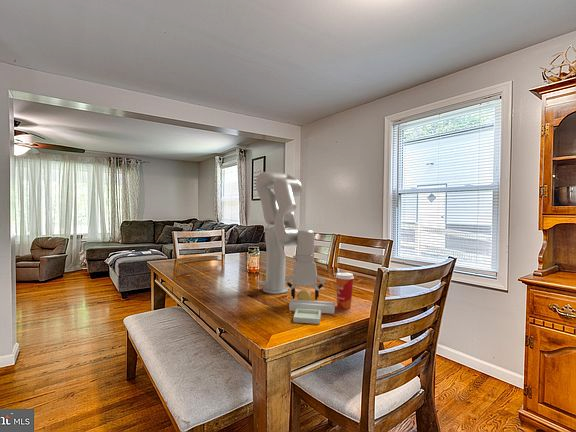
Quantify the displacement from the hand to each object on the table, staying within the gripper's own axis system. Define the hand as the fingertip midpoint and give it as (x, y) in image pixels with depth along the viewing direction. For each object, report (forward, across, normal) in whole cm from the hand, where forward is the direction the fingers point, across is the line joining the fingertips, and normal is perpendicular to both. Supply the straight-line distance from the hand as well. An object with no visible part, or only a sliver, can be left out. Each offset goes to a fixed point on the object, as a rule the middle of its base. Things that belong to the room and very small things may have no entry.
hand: (304, 298), depth 129 cm
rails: (+3, +4, -6) cm, 8 cm away
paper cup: (+3, +17, 0) cm, 17 cm away
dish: (+3, +3, -16) cm, 16 cm away
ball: (0, 0, 0) cm, 1 cm away
